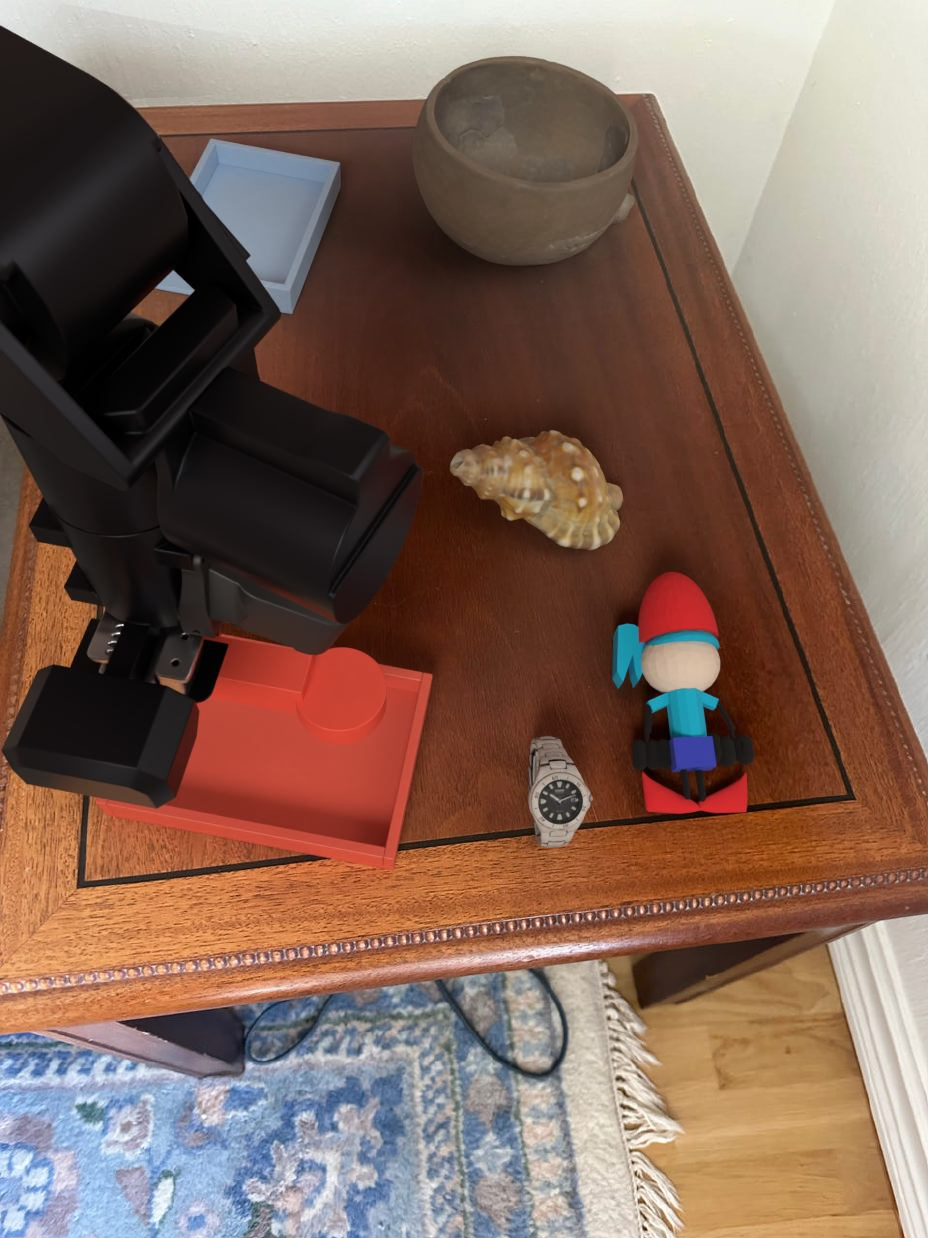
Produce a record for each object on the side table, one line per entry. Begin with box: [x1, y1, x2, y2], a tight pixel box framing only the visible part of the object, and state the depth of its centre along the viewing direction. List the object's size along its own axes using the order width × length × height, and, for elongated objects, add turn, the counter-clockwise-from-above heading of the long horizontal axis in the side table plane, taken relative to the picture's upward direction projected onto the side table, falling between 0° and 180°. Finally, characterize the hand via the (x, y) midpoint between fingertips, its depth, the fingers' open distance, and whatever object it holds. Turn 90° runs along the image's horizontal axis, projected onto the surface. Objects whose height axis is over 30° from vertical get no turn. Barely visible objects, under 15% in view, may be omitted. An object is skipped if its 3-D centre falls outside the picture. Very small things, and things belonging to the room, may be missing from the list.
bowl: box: [411, 55, 639, 267], centre depth 73 cm, size 17×18×10 cm
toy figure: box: [611, 571, 756, 815], centre depth 55 cm, size 8×5×15 cm
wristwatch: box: [527, 735, 594, 849], centre depth 50 cm, size 4×6×5 cm, turn 4°
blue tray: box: [154, 138, 342, 315], centre depth 73 cm, size 16×11×2 cm
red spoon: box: [203, 636, 387, 744], centre depth 45 cm, size 12×5×3 cm, turn 80°
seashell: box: [449, 429, 624, 551], centre depth 60 cm, size 9×8×10 cm
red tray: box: [95, 633, 434, 871], centre depth 52 cm, size 16×11×2 cm
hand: (200, 666), depth 45 cm, fingers closed on red spoon, 2 cm apart
